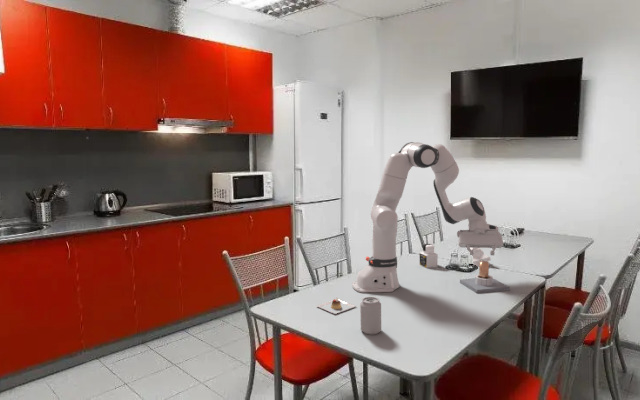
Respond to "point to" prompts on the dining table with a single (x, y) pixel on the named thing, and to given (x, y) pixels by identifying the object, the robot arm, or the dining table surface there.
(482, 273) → the copper tube
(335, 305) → the dessert
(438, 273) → the dining table surface
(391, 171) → the robot arm
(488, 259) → the soft serve ice cream
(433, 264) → the medicine bottle
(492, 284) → the collar plate
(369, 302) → the can
